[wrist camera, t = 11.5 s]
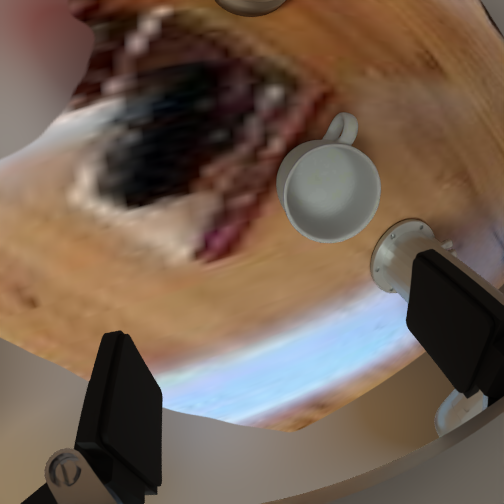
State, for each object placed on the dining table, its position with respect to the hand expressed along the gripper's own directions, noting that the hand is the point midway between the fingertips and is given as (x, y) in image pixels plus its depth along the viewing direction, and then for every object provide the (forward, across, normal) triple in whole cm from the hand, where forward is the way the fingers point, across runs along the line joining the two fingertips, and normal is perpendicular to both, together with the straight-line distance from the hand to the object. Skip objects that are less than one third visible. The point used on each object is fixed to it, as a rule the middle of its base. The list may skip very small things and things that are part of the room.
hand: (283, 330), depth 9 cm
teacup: (+29, -11, +3) cm, 31 cm away
